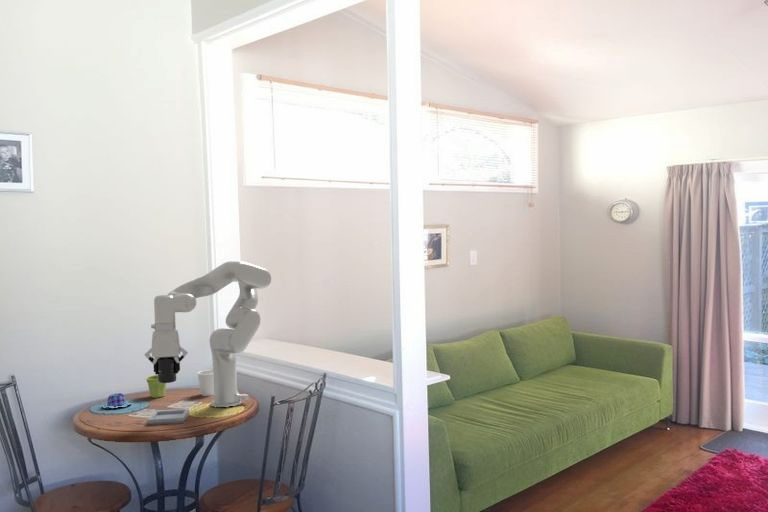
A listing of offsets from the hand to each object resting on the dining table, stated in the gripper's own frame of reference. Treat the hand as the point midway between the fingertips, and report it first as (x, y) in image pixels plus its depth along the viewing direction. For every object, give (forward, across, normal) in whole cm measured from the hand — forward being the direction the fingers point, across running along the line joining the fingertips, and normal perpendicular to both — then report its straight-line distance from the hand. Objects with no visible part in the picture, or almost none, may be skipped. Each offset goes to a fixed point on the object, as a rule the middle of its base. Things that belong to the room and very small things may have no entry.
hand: (167, 373), depth 257 cm
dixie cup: (+18, +9, +39) cm, 44 cm away
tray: (+18, 0, 0) cm, 18 cm away
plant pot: (+18, -12, +41) cm, 46 cm away
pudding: (+19, -26, +27) cm, 42 cm away
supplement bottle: (+3, 0, 0) cm, 3 cm away
